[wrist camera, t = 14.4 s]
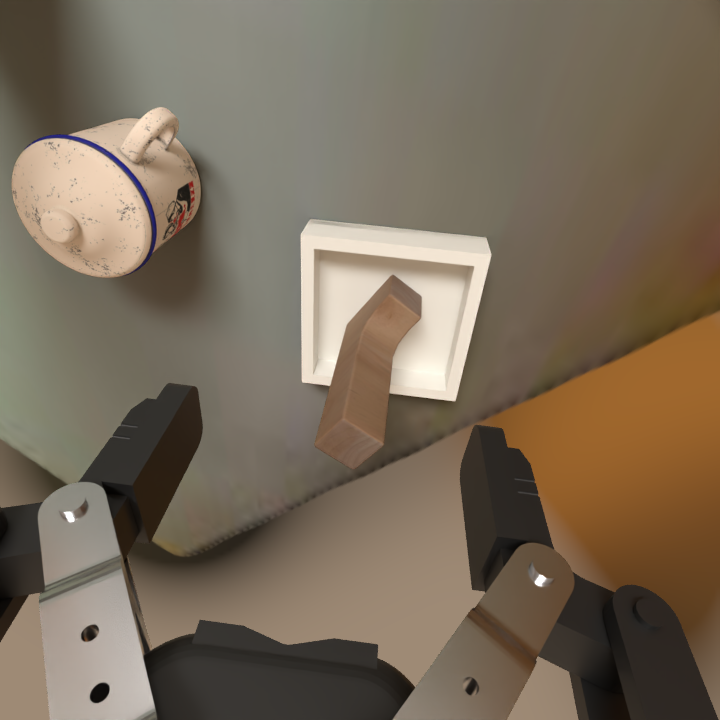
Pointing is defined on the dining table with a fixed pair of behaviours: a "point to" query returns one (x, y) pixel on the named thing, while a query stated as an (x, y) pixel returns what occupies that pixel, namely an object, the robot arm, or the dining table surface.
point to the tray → (368, 273)
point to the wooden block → (366, 374)
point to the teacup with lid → (107, 193)
